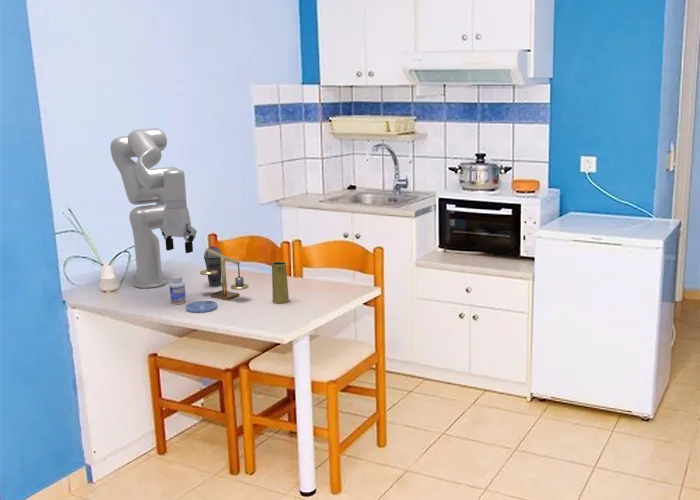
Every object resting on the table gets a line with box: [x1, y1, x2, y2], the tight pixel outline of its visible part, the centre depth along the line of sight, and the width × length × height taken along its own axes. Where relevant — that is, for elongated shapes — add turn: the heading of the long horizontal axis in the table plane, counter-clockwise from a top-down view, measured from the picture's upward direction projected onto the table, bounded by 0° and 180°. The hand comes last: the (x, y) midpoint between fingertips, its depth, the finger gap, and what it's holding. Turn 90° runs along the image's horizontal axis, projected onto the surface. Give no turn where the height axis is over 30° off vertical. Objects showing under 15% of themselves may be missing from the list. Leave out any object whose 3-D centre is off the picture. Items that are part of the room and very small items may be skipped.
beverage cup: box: [203, 235, 223, 288], centre depth 301 cm, size 7×7×20 cm
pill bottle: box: [169, 275, 187, 305], centre depth 280 cm, size 5×5×10 cm
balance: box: [199, 248, 249, 301], centre depth 285 cm, size 22×6×18 cm, turn 55°
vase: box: [271, 261, 290, 304], centre depth 278 cm, size 6×6×14 cm
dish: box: [185, 300, 218, 314], centre depth 273 cm, size 11×11×1 cm
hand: (179, 251), depth 277 cm, fingers open, 9 cm apart
